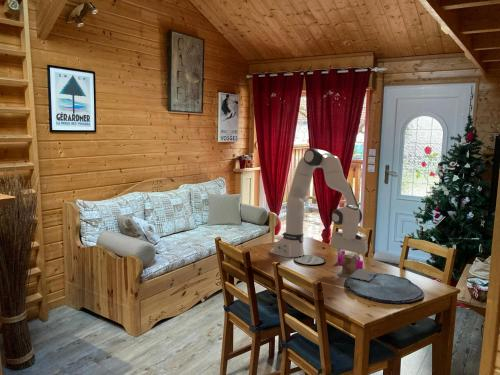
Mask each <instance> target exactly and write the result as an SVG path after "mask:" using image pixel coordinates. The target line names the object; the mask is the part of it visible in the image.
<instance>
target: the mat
mask: <svg viewBox="0 0 500 375" xmlns="http://www.w3.org/2000/svg"><path fill="white" fill-rule="evenodd" d="M368 274H377V275H378V274H379V272H376V271H370V270H365V269H362V268H361V269H356V271H354V272H353V273H352V274H346V273H342V270H341V271H339V272H338V273H337V274H336V275H337V276H339V277H344V278H347V279H348V278H349V279H352V278H357V279H362V280H368V281H370V280H371V279H370V278H369V275H368ZM357 279H356V280H357ZM362 280H361V281H362ZM371 281H372V280H371ZM371 281H370V282H371Z"/></svg>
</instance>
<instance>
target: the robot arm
mask: <svg viewBox="0 0 500 375" xmlns="http://www.w3.org/2000/svg"><path fill="white" fill-rule="evenodd" d="M316 169H322V170H323V175H324V181H325V183H326V185H327V186H328V187H329V188H330V189H332V190H335V191H337V192H339V193H341V194H342V195H343V196H344V199H345V202H346V205H345V206H343V207H339V208H335V209H334V210H333V211H332V213H331V221H332V223H333V224H335V226H336V225H338V226H342V229H341V230H342V231H341V232H340V231H334V232H333V233H332V236H331V238H332V240H331V247H332V248H335V249H336V251H337V254H338V253H339V256H340V257H341V256H342V253H341V250H343V251H347V252H353V253H357V256H355V260H358V257H359V256H360V255H361V254H366V253H368V249H369V248H368V247H369V246H368V239H367V237H368V235H367V234H364V233H363V232H361V231H359V225H360V223H361V222H362V221H363V212H362V210H361V209H360V207H359V205H358V201H357V199H356V196H355V193H354V191H353V187H352V185H351V183H350V182H348V180H347V179H346V177H345V175H344V170H343V167H342V163H341V160H340V159H339V157H338V156H336V155H333V154H332V153H331V152H330V151H326V150H324V149H319V148H308V149H307V150H306V151H304V153H303V157H301V158H300V160H299V162H298V163H297V166H296V169H295V172H294V176H293V178H292V182H291V186H290V189H289V193H288V195H287V199H286V212H285V213H286V214H285V216H286V218H285V232H283V233H281V235H282V238H280V239H279V240H277V241H276V242H274V244H273V248H271V249H270V254H272V255H273V254H274V255H277V256H281V257H284V258H299V256H301V257H304V256H306V255H305V249H304V217H305V202H306V201H305V200H306V198H307V194H308V191H309V189H310V185H311V181H312V178H313V176H314V175H313V174H314V172H315V170H316ZM303 255H304V256H303Z"/></svg>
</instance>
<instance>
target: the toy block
mask: <svg viewBox="0 0 500 375" xmlns="http://www.w3.org/2000/svg"><path fill="white" fill-rule="evenodd" d="M340 251H341V253H342V256H341V257H340V256H339V253H338V252H337V262H336V263H338V264H341V265H342V263H343V255H344V254H346V250H343V249H341V250H340ZM363 266H364V260H361V256H360V255H359V257H358V260H357V262H356V269H361V270H362V269H363Z"/></svg>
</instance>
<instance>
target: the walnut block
mask: <svg viewBox="0 0 500 375" xmlns="http://www.w3.org/2000/svg"><path fill="white" fill-rule="evenodd" d="M357 255H358V254H357V252H353V251H347V252H345V254H344V255H343V263H342V264H341V265H342V268H341V271H342V273H346V274H352V273H353V272H354V271H356V262H357V260H355V256H357Z"/></svg>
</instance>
